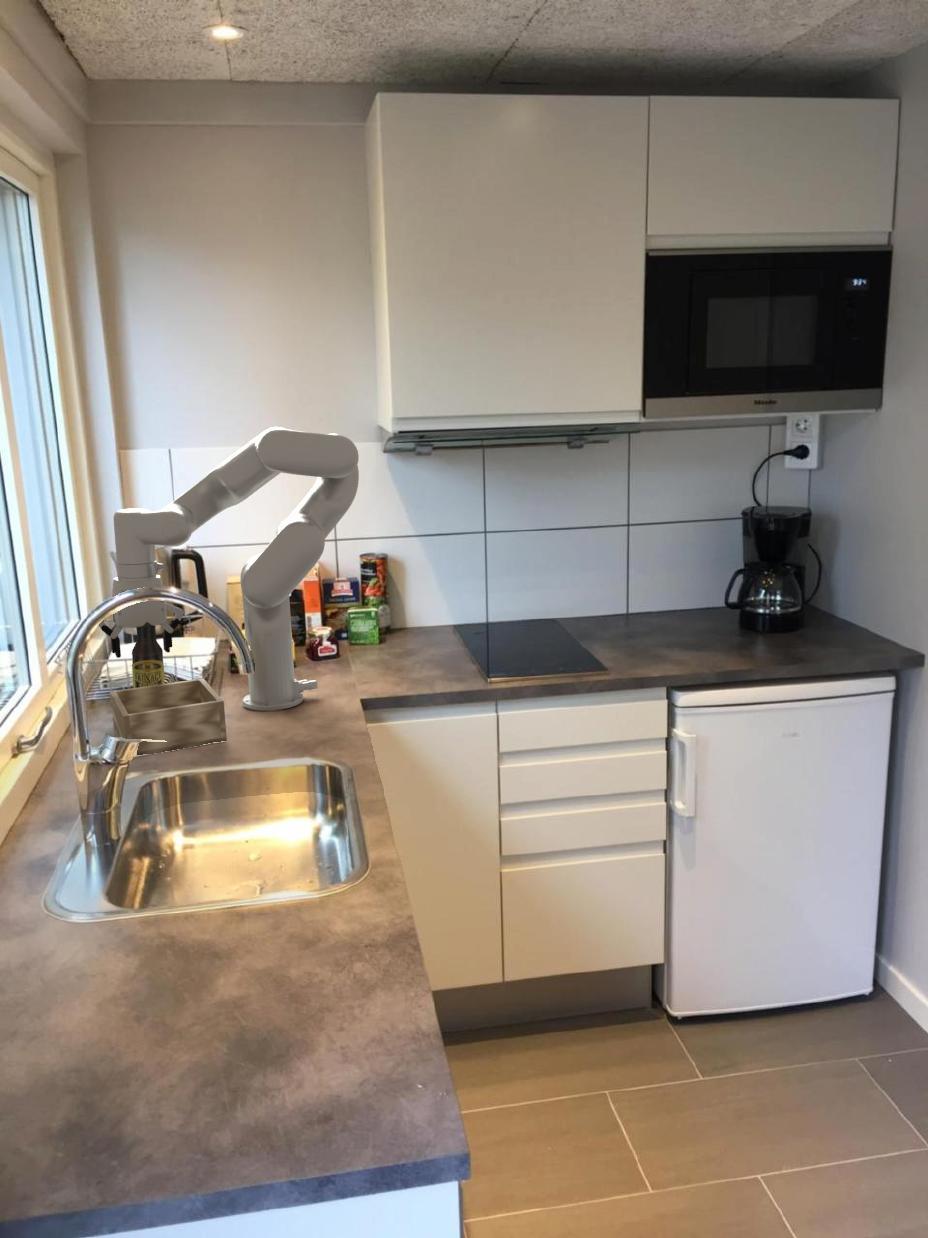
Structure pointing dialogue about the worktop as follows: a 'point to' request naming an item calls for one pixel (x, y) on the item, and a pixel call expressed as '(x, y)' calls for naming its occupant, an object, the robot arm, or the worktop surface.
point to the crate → (169, 715)
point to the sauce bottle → (147, 658)
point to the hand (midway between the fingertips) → (142, 653)
